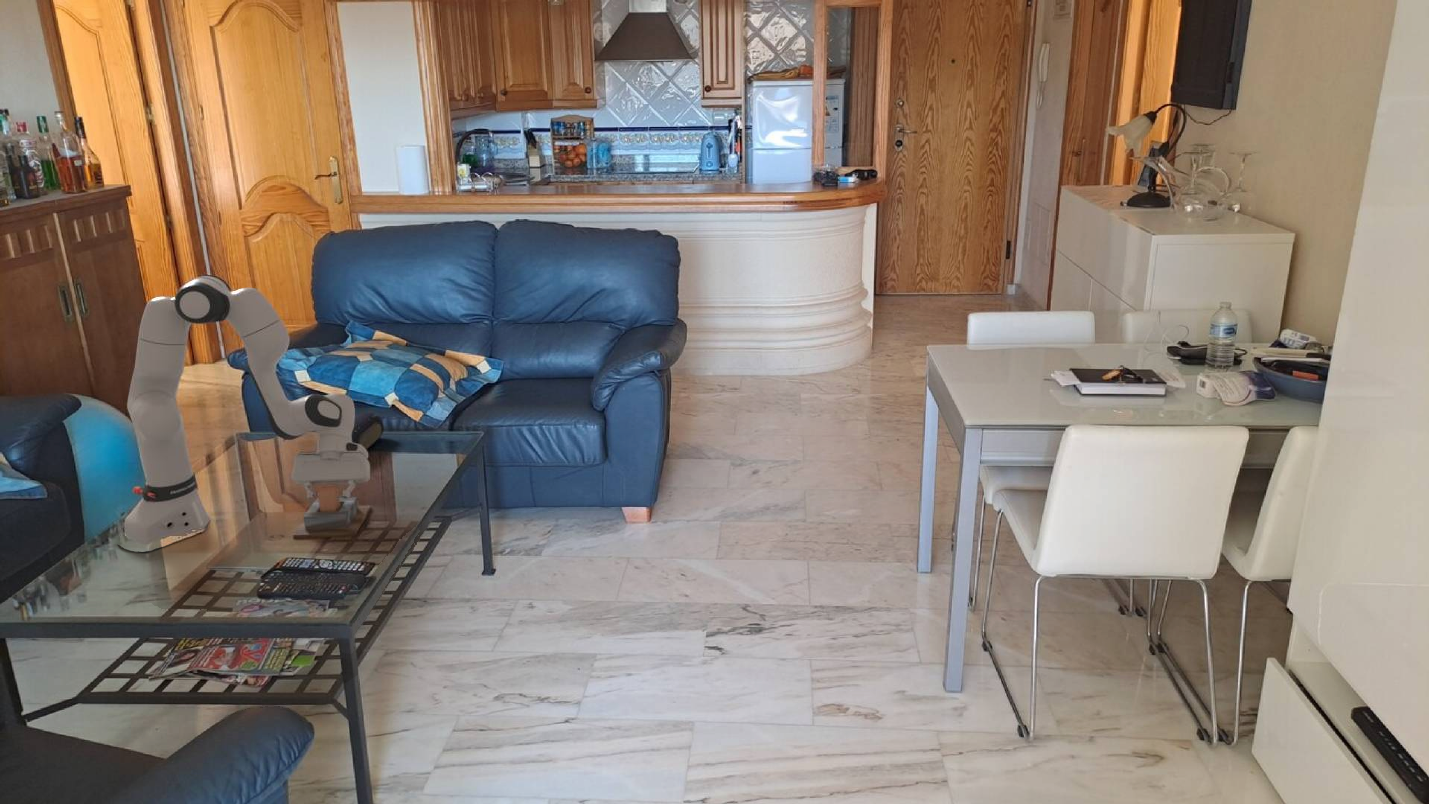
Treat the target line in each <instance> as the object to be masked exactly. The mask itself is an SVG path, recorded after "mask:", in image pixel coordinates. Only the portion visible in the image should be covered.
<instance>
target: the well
mask: <svg viewBox="0 0 1429 804" xmlns="http://www.w3.org/2000/svg"><path fill="white" fill-rule="evenodd" d="M339 500H340V506H341V508H340V510H339V511H336V512H321V511H320V506H319V500H318V497H317V498H316V499H314V502H313V503H312V504H311V506H310V507H309V508H308V510H307V511H306V513H305V514H304V515H303V516H302V517H303V521H302V522H301V523H300V524H299V526H298V528H297V529H296V530H295V532H294V533H293V534H292V537H293V539H311V538H312V539H314V538H338V537H339V538H341V537H355V536H357V533H358V531H359V529H360V528H361V526H362V525H363V523H364V521H366V518H367V517H368V514H369V513H370V511H371V510H372V506H371V505H359V501H358V496H352V497H351V496H350V498H343V497H339Z"/></svg>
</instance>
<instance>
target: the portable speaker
mask: <svg viewBox="0 0 1429 804" xmlns="http://www.w3.org/2000/svg"><path fill="white" fill-rule="evenodd" d="M384 428H385V427H384V422H383V420H382V418H381V416H379V415H378V414H377V413H375V412H372V411H371V412H370V411H366V412H362V413H359V414H357V416H355V420H354V428H353V431H352V434H351V437H352V442H353V443H357V444H360V445H362V446H363V447H364V448H365V449H366V450H368V448H370V447H371V446H373V444H375V442H376V441H377V440H378V439H380V438H381V436H383V433H384Z"/></svg>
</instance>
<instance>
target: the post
mask: <svg viewBox="0 0 1429 804" xmlns="http://www.w3.org/2000/svg"><path fill="white" fill-rule="evenodd" d="M317 498H318V500H319V506H320V511H321V512H336V511H339V510H340V508H341V506H340V500H339V498H340V495H339V490H338V486H324V487H323V486H322V487H321V488H320V490H319V491H317Z"/></svg>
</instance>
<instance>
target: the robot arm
mask: <svg viewBox="0 0 1429 804" xmlns="http://www.w3.org/2000/svg"><path fill="white" fill-rule="evenodd" d="M223 321H227V322H228V323H230V324H231V326H232V327H233V328H234V330H235V332H236V333H237V336H238V337H239V338H240V340H241V342H242V344H243V347H244V349H245V352H246V357H247V358H246V366H247V369H248V372H249V375H250V377H251V380H252V382H253V383H254V386H255V388H256V391H257V393H258V395H259V396H260V399H261V402H262V403H263V406H264V408H265V410H266V414H267V418H268V422H269V425H270V427H271V430H272V432H274V434H275V435H276V436H278V437H279V438H280V439H283V440H285V441H286V440H287V441H292V440H295V439H298V438H300V437H302V436H304V435H307V434H310V433H313V432H315V433H317V434H318V438H317V446H316V450H311V451H306V450H305V451H301V452H299V453H297V454H296V455H295V456H294V460H293V464H294V465H293V468H292V473H291V477H290V478H291V481H292V482H293V483H294V484H295V485H298V486H301V485H302V486H303V487H304V489H305V491H306V499H307V500H315V496H316V493H315V492H314V491H311V489H312V487H313V485H330V484H331V485H336V484H339V485H340V484H348V487H347V488H346V489H345V490H344V489H343V490H342V497H341V498H350V497H351V493H352V491H353V490H354V488H356V484H360V483H362V484H366V483H367V482H368V481H369V480H370V479H371V464H370V463H371V462H370V461H369V460H368V458H369V452H368V449H365V448H364V447H363V446H362V445H360V444H357V443H353V442H352V437H351V434H352V431H353V428H354V420H355V417H356V415H355V414H356V409H355V404H354V401H353V399H352V398H351V397H350V396H348V395H347V394H345V393H341V392H331V393H329V394H326V395H322V394H320V393H312V394H310V395H305V396H303V397H300V398H298V399H294V400H290V399H288V398H287V396H286V395H285V392H284V390H283V388H282V385H281V382H280V381H279V379H278V376H277V372H276V369H277V365H278V363H279V362H280V360H281V359H282V358H283V356H284V355H285V354H286V352H287V350H288V348H289V344H290V339H291V338H290V335H289V331H288V329H287V328H286V326H285V324H284V322H283V321H282V319H281V317H280V316H279V314H278V312H277V311H276V310H275V308H274V307H273V306H272V304H271V303H270V302H269V300H268V299H267V298H266V297H265V296H264V294H263V293H262V292H261V291H260V290H258V289H257V288H253V287H243V288H240V289H237V290H232V288H231V287H230V285H229V284H228V282H227V281H226V280H224V279H223V278H221V277H219V276H217V275H211V274H205V275H201V276H197V277H194V278H192V279H190V280H189V281H187V282H186V283H185V284H183V285H182V286H180V288H179V289H178V290H177V291H176V293H175V296H174V297H172V296H156V297H154V298H151V299H150V300H148V302H147V304H146V305H145V308H144V311H143V314H142V317H141V321H140V324H139V330H138V337H137V345H136V352H135V353H136V355H135V362H134V363H135V364H134V367H133V368H134V369H133V371H132V372H133V373H132V377H131V381H130V387H129V392H128V396H127V402H126V406H127V407H126V408H127V412H128V413H129V417H130V420H131V422H132V425H133V428H134V432H135V437H136V441H137V446H138V451H139V458H140V461H141V465H142V470H143V474H144V478H145V483H144V484H145V485H144V488H143V487H140V486H137V485H136V486H134V487H133V489H132V493H133V494H135V495H138V496H142V498H141V499H140V501H139V502H138V503H137V505H136V506H134V508H133V509H132V511H131V512H130V513H129V514H128V515H127V516H126V517H125V519H124V534H125V536H126V537H127V538H128V539H130V540H132V541H134V542H138V543H142V544H149V543H151V542H156V541H159V540H161V539H165V538H167V537H169V536H182V537H183V536H187V535H188V534H191V533H196V532H198V531H202V530H205V531H206V526H207V525H208V524H209V523H210V521H211V518H210V516H209V515H208V513H207V511H206V509H205V507H204V505H203V502H202V500H201V498H200V495H199V493H198V492H199V491H198V490H199V489H198V487H199V486H198V483H197V478H196V474H195V472H194V471H193V469H192V465H191V459H190V456H189V451H188V450H189V449H188V446H187V445H188V444H187V438H186V434H185V426H184V420H183V415H182V410H181V409H180V407H179V406H178V401H177V396H178V395H177V394H178V390H179V386H180V382H181V378H182V376H183V374H184V372H185V371H184V368H185V363H186V354H187V349H188V348H187V346H188V340H189V339H188V338H189V331H190V327H191V325H192V324H196V325H197V324H198V325H206V324H211V323H218V322H223ZM208 522H209V523H208ZM206 524H207V525H206ZM205 525H206V526H205ZM192 530H196V531H194V532H193V531H192ZM187 533H188V534H187ZM178 538H180V537H178Z"/></svg>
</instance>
